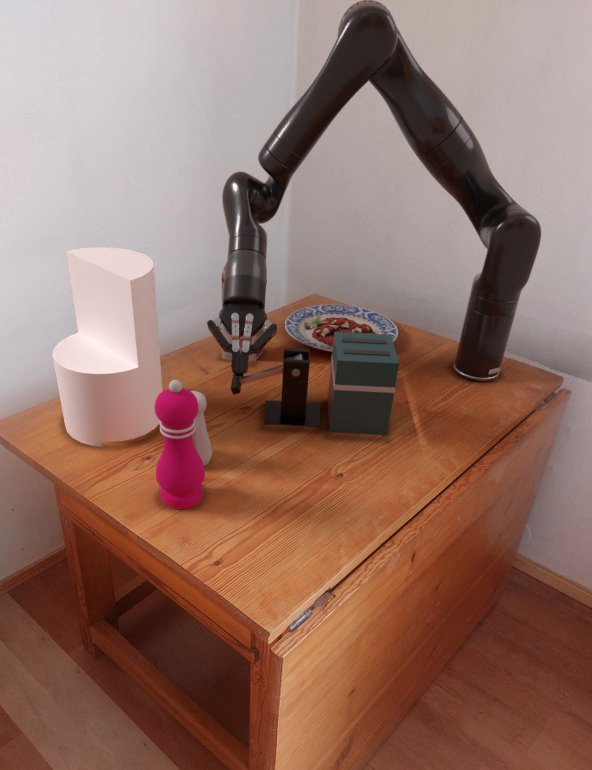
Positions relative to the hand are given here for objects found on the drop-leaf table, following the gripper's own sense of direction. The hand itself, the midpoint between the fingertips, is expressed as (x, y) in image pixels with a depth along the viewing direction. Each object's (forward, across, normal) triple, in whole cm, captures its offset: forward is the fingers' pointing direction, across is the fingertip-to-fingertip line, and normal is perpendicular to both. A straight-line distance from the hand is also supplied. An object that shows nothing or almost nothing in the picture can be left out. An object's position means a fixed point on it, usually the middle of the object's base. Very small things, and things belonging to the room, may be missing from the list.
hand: (239, 375), depth 111 cm
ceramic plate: (-20, +20, +32) cm, 43 cm away
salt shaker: (+17, -6, -5) cm, 19 cm away
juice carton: (-11, -1, +23) cm, 26 cm away
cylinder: (+8, -22, +4) cm, 24 cm away
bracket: (+6, +10, +6) cm, 13 cm away
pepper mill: (+23, -7, -10) cm, 26 cm away
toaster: (+6, +21, +6) cm, 23 cm away
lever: (0, +5, 0) cm, 6 cm away
